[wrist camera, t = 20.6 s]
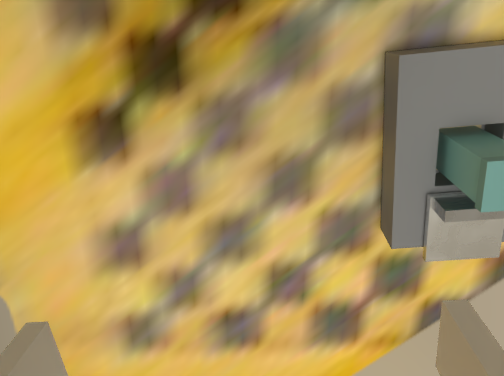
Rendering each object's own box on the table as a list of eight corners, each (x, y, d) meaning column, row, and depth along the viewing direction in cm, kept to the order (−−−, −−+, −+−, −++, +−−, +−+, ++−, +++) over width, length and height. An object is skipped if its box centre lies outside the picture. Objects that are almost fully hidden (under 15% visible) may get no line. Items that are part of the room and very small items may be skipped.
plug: (433, 127, 41) (487, 161, 31) (477, 123, 40) (547, 157, 30) (430, 167, 42) (480, 212, 32) (472, 163, 42) (537, 208, 32)
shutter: (427, 194, 40) (442, 210, 36) (505, 188, 39) (528, 204, 36) (422, 257, 43) (436, 278, 39) (494, 253, 42) (515, 274, 39)
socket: (385, 51, 39) (399, 55, 35) (533, 37, 38) (565, 38, 34) (380, 228, 47) (391, 248, 43) (503, 220, 46) (526, 240, 42)
